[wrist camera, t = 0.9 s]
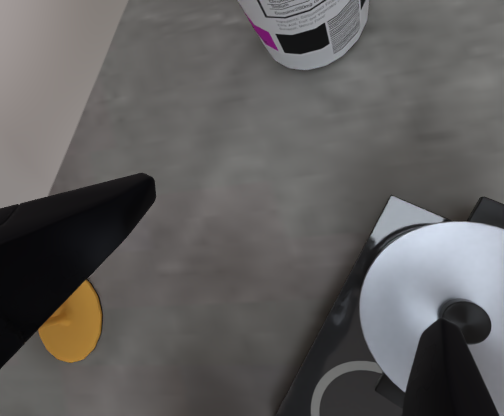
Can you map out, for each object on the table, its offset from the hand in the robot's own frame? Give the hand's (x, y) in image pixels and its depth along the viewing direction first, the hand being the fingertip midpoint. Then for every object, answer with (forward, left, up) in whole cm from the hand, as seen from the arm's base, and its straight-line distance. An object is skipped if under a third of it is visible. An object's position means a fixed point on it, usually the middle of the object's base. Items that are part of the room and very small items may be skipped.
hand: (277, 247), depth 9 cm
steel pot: (0, -8, -14) cm, 16 cm away
